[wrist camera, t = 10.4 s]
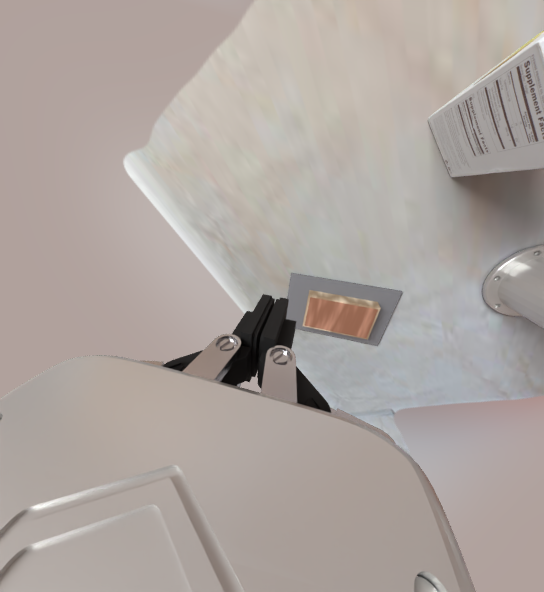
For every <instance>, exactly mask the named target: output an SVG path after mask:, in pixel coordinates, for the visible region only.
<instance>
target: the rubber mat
mask: <svg viewBox="0 0 544 592" xmlns="http://www.w3.org/2000/svg"><path fill="white" fill-rule="evenodd" d="M309 290H313V291H319V292H324V293H330V294H335V295H341V296H347V297H352V298H358V299H364V300H369V301H375V302H378V304H379V306H380V308H381V309H380V311H379V314H378V316H377V318H376V321H375V323H374V326H373V328H372V330H371V333H370V335H369V338H368V340H367V339H362V338H357V337H353V336H348V335H343V334H338V333H333V332H329V331H324V330H319V329H314V328H309V327H305V326H303V320H304V315H305V310H306V305H307V300H308V295H309ZM401 294H402V291H398V290H392V289H386V288H380V287H374V286H368V285H362V284H356V283H349V282H343V281H337V280H331V279H325V278H319V277H313V276H307V275H301V274H295V273H291V277H290V284H289V291H288V298H287V299H289V302H288V309H287V316H286V319H289V320H293V321H296V327H295V329H300V330H305V331H309V332H314V333H319V334H324V335H328V336H333V337H338V338H343V339H347V340H352V341H357V342H362V343H366V344H371V345H376V346H378V344H379V342H380V339H381V337H382V335H383V333H384V331H385V329H386V326H387V324H388V322H389V320H390V318H391V316H392V313H393V311H394V309H395V307H396V305H397V303H398V300H399V298H400V296H401Z"/></svg>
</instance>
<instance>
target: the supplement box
mask: <svg viewBox="0 0 544 592" xmlns="http://www.w3.org/2000/svg"><path fill="white" fill-rule="evenodd" d="M428 122H429V125H430V127H431V130H432V132H433V135H434V137H435V140H436V142H437V145H438V147H439V150H440V152H441V155H442V157H443V160H444V162H445V165H446V167H447V169H448V172H449V174H450V177H460V176H471V175H481V174H490V173H499V172H512V171H522V170H533V169H543V168H544V30H543V31H542V32H541V33H539V34H538V35H537V36H535V37H534V38H532V39H531V40H530V41H528V42H527V43H526V44H524V45H523V46H522V47H520V48H519V49H518V50H516V51H515V52H514V53H512V54H511V55H510V56H508V57H507V58H506V59H504V60H503V61H502V62H500V63H499V64H498V65H496V66H495V67H494V68H492V69H491V70H490V71H488V72H487V73H486V74H484V75H483V76H482V77H480V78H479V79H478V80H477V81H475V82H474V83H473V84H471V85H470V86H469V87H467V88H466V89H465V90H463V91H462V92H461V93H459V94H458V95H457V96H455V97H454V98H453V99H452V100H450V101H449V102H448V103H446V104H445V105H444V106H443V107H441V108H440V109H439V110H437V111H436V112H435V113H434V114H432V115H431V116H430V117H429V118H428Z"/></svg>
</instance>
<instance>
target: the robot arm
mask: <svg viewBox="0 0 544 592" xmlns="http://www.w3.org/2000/svg"><path fill="white" fill-rule="evenodd" d="M482 292H483V298H484V300H485V302H486V303H487V304H488V305H489V306H490V307H491V308H493V309H494V310H496V311H497V312H499V313H502V314H505V315H510V316H524V317H525V318H527V319H529V320H530V321H532V322H533V323H535V324H537V325H538V326H540V327H541V328H543V329H544V245H540V246H535V247H531V248H528V249H525V250H522V251H520V252H518V253H515V254H513V255H512V256H510V257H508V258H506V259H505V260H504V261H502V262H501V263H500V264H498V265H497V266H496V267H495V268H494V269H493V270H492V271H491V272H490V274H489V275H488V276H487V278H486V280H485V282H484V285H483V289H482ZM288 302H289V299H285V298H280V300H279V299H277V300H276V302H275V304H274V299H273V298H272V296H269V295H264V294H263V295H262V297H261V299H260V301H259V302H258V304H257V306H256V307H255V309H254V311H253V312H250V311H247V312H246V313H245V315H244V316H243V318H242V319H241V321H240V322H239V324H238V325H237V327H236V329H235V330H234V332H233V333H232V334H223V335H220V336H218V337H217V338H215V339H214V340H213V341H212V342H211V343H210V344H209V345H208V346H207V347H206V348H205V349H204V350H203V351H200V352H196V353H194V354H190V355H187V356H184V357H181V358H178V359H175V360H172V361H170V362H167V363H166V364H164V363H163V362H158V361H138V360H134V359H128V358H123V357H117V356H106V355H104V356H103V355H96V356H83V357H77V358H72V359H69V360H66V361H63V362H61V363H59V364H57V365H55V366H53V367H51V368H49V369H48V370H46V371H44V372H42V373H40V374H39V375H37V376H35V377H34V378H32V379H30V380H29V381H27V382H25V383H24V384H22V385H21V386H19V387H17V388H16V389H14V390H13V391H11V392H9V393H8V394H6V395H5V396H3V397H2V398H0V592H476V591H475V588H474V585H473V583H472V580H471V577H470V575H469V572H468V569H467V567H466V564H465V561H464V559H463V556H462V553H461V551H460V548H459V546H458V543H457V541H456V539H455V536H454V533H453V531H452V529H451V526H450V524H449V521H448V519H447V517H446V514H445V512H444V510H443V507H442V505H441V503H440V501H439V499H438V497H437V495H436V493H435V491H434V489H433V487H432V485H431V483H430V481H429V480H428V478H427V477H426V475H425V473H424V472H423V471H422V469H421V468H420V466H419V465H418V464H417V463H416V462H415V461H414V460H413V458H412V457H411V456H410V455H409V454H407V453H406V452H405V451H404V450H403V449H401V448H400V447H399V446H398V445H396V444H395V442H394V440H393V439H392V438H391V437H390V436H389V435H388V434H387V433H385V432H384V431H382V430H380V429H378V428H376V427H374V426H372V425H370V424H368V423H366V422H364V421H362V420H360V419H358V418H356V417H354V416H352V415H350V414H348V413H346V412H344V411H342V410H340V409H338V408H337V411H336V410H334V409H332V408H330V406H329V405H328V403H327V402H326V400H325V399H324V398H323V397H322V396H321V394H320V393H319V392H318V391H317V390H316V389H315V387H314V386H313V385H312V384H311V383H310V382H309V381H308V379H307V378H306V377H305V376H304V375H303V374H302V372H301V371H300V370H299V369H298V368H297V367H296V357H295V354H294V352H293V351H292V350H291V348H292V343H293V338H294V333H295V327H296V321H293V320H289V319H286V316H287V309H288ZM257 370H258V376H257V377H258V385H259V387H260V388H261V393H259V392H255V391H251V390H248V389H244V388H240V385H241V383H242V382H244V381H248V382H250V380H251V377H252V376H253V377H255V376H256V373H257ZM416 576H418V577H416Z"/></svg>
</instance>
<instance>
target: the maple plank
mask: <svg viewBox="0 0 544 592" xmlns="http://www.w3.org/2000/svg"><path fill="white" fill-rule="evenodd" d="M380 309H381V308H380V306H379V304H378V302H375V301H369V300H364V299H358V298H352V297H347V296H341V295H335V294H330V293H324V292H319V291H313V290H309V295H308V300H307V305H306V310H305V315H304V320H303V326H305V327H309V328H314V329H319V330H324V331H329V332H333V333H338V334H343V335H348V336H353V337H357V338H362V339H367V340H368V338H369V335H370V333H371V330H372V328H373V326H374V323H375V321H376V318H377V316H378V314H379V311H380Z"/></svg>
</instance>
